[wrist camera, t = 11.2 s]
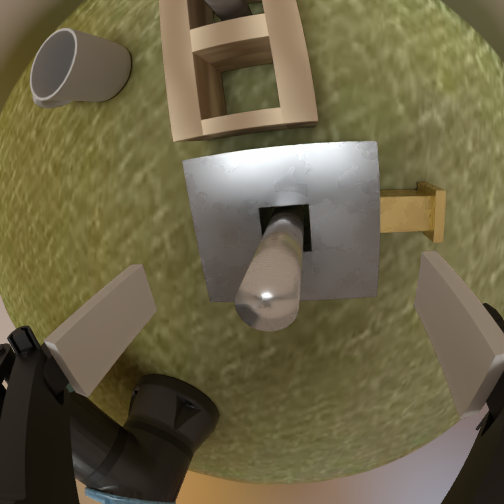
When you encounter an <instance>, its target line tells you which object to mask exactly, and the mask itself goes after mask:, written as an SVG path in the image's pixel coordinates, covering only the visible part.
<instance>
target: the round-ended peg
mask: <svg viewBox="0 0 504 504" xmlns="http://www.w3.org/2000/svg"><path fill="white" fill-rule="evenodd" d="M303 233H304V206H303V204H300V205H286V206H277V207H276V209H275V211H274V213H273V216H272V218H271V220H270V222H269V224H268V226H267V229H266V231H265V233H264V235H263V237H262V239H261V242H260V244H259V246H258V248H257V250H256V253H255V255H254V257H253V259H252V261H251V263H250V266H249V268H248V270H247V272H246V274H245V276H244V279H243V281H242V283H241V285H240V287H239V289H238V292H237V294H236V297H235V307H236V310H237V313H238V315H239V316H240V318H241V319H242V320H243V321H244V322H245V323H246V324H248V325H249V326H251V327H253V328H255V329H258V330H261V331H278V330H281V329H283V328H286V327H287V326H289V325H290V324H291V323H292V322H293V321H294V320H295V318H296V316H297V314H298V310H299V299H300V286H301V271H302V254H303Z"/></svg>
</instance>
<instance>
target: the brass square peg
mask: <svg viewBox="0 0 504 504" xmlns="http://www.w3.org/2000/svg"><path fill="white" fill-rule="evenodd" d="M445 206H446V190H443V189H441V188H439V187H436V186H434V185H432V184H429V183H427V182H418V190H417V189H416V190H380V233H386V232H408V231H421V232H422V233H423V234H424V235H426V236H427V237H428V238H429V239H430V240H431V241H432V242H433V243H437V242H443V235H444V223H445Z"/></svg>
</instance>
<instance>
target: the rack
mask: <svg viewBox="0 0 504 504" xmlns="http://www.w3.org/2000/svg"><path fill="white" fill-rule="evenodd" d="M261 1H262V3H263V8H264V14H257V15H253V14H252V12H251V10H250V8H249V6H248V4H249V3H255V2H261ZM159 7H160V24H161V38H162V50H163V61H164V71H165V81H166V90H167V98H168V106H169V114H170V121H171V128H172V135H173V142H179V141H204V140H212V139H217V138H223V137H229V136H235V135H242V134H249V133H257V132H264V131H273V130H282V129H293V128H304V127H315V126H316V124H317V122H318V114H317V107H316V100H315V93H314V87H313V81H312V75H311V69H310V64H309V58H308V53H307V48H306V43H305V38H304V33H303V28H302V24H301V19H300V15H299V11H298V7H297V3H296V0H159ZM213 11H214V12H215V13H216V14H217V15H218V17H219V18H220V19H221V20H222V22H217V23H214V18H213ZM271 63H274V69H275V75H276V81H277V88H278V94H279V101H280V108H271V109H263V110H256V111H249V112H243V113H237V114H231V115H227V112H226V105H225V98H224V91H223V83H222V76H221V72H224V71H229V70H234V69H239V68H245V67H250V66H257V65H263V64H271Z"/></svg>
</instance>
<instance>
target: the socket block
mask: <svg viewBox="0 0 504 504" xmlns="http://www.w3.org/2000/svg"><path fill="white" fill-rule="evenodd" d="M183 167H184V173H185V179H186V185H187V191H188V196H189V202H190V207H191V213H192V218H193V223H194V228H195V233H196V238H197V243H198V248H199V253H200V258H201V262H202V267H203V272H204V276H205V281H206V285H207V289H208V294H209V298H210V302H235V297H236V294H237V292H238V289H239V287H240V285H241V283H242V281H243V279H244V276H245V274H246V272H247V270H248V268H249V266H250V263H251V261H252V259H253V257H254V255H255V253H256V250H257V248H258V246H259V244H260V242H261V239H262V237H263V235H264V233H265V231H266V229H267V226H268V224H269V222H270V220H271V218H272V214H271V207H273V206H286V205H300V204H309V214H310V228H304V233H303V254H302V271H301V286H300V299H299V301H305V300H328V299H347V298H363V297H377V286H378V272H379V253H380V180H379V162H378V148H377V141H351V142H327V143H311V144H298V145H286V146H276V147H267V148H258V149H250V150H243V151H236V152H229V153H222V154H216V155H210V156H204V157H199V158H193V159H188V160H183Z"/></svg>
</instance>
